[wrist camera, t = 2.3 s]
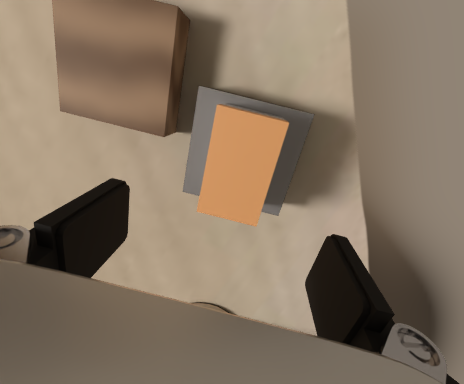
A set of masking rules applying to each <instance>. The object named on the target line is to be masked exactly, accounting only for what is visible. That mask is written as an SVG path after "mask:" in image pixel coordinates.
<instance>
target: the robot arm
mask: <svg viewBox="0 0 464 384" xmlns="http://www.w3.org/2000/svg"><path fill="white" fill-rule="evenodd" d="M129 192H130V188H129V186H128V185H127V184H126V182H125V181H122V180H118V179H114V178H111V179H109V180H108V181H106V182H104V183H102V184H100V185H99V186H97V187H95V188H93V189H92V190H90V191H88V192H86V193H85V194H83V195H81V196H79V197H78V198H76V199H74V200H72V201H71V202H69V203H67V204H65V205H63V206H62V207H60V208H58V209H56V210H55V211H53V212H51V213H49V214H48V215H46V216H44V217H42V218H41V219H39V220H37V221H35V222H34V228H33V229H31V230H27V229H26V228H24V227H21V226H15V225H4V226H0V384H459V383H458V382H457V381H455V380H454V379H453V378H452V377H450V376H449V375H448V374H447V364H446V360H445V358H444V356H443V354H442V353H441V351H440V350H439V349H438V348H437V346H436V345H435V344H434V343H433V342H432V341H431V340H430V339H429V338H427V337H426V336H425V335H424V334H422V333H421V332H419V331H418V330H416V329H414V328H413V327H410V326H408V325H405V324H400V323H398V324H395V323H394V321H393V320H392V317H393V316H394V313H393V311H392V309H391V308H390V306H389V305H388V303H387V302H386V300H385V298H384V297H383V295H382V293H381V292H380V290H379V289H378V287H377V285H376V284H375V282H374V281H373V279H372V277H371V276H370V274H369V273H368V271H367V269H366V268H365V266H364V264H363V263H362V261H361V260H360V258H359V256H358V255H357V253H356V252H355V250H354V248H353V247H352V245H351V244H350V242H349V240H348V239H347V238H346V237H343V236H339V235H335V234H332V235H331V236H327V237H326V239H325V241H324V243H323V245H322V247H321V249H320V251H319V253H318V256H317V258H316V260H315V262H314V264H313V266H312V268H311V270H310V272H309V274H308V276H307V278H306V282H305V287H306V291H307V295H308V300H309V304H310V308H311V312H312V316H313V320H314V324H315V328H316V332H317V336H314V335H310V334H307V333H303V332H299V331H295V330H291V329H287V328H284V327H280V326H276V325H272V324H268V323H265V322H261V321H257V320H253V319H249V318H246V317H242V316H238V315H234V314H230V313H227V312H226V311H224V310H223V309H221V308H219V307H217V306H214V305H210V304H205V303H194V304H191V303H187V302H183V301H179V300H175V299H172V298H168V297H164V296H160V295H156V294H152V293H148V292H144V291H140V290H136V289H132V288H128V287H124V286H120V285H116V284H112V283H108V282H104V281H100V280H96V279H92V278H91V277H92V276H93V275H94V274H95V273H96V272H97V270H98V269H99V268H100V267H101V266H102V265H103V264H104V263H105V262H106V261H107V260H108V258H109V257H110V256H111V255H112V254H113V253H114V252H115V251H116V250H117V249H118V248H119V246H120V245H121V244H122V243H123V242H124V241H125V239H126V237H127V234H128V214H129Z"/></svg>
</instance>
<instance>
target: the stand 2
mask: <svg viewBox="0 0 464 384" xmlns="http://www.w3.org/2000/svg"><path fill="white" fill-rule="evenodd" d="M224 103H227V104H231V105H235V106H239V107H243V108H247V109H251V110H255V111H259V112H263V113H267V114H271V115H275V116H279V117H282V118H284V119H285V120H286V121H288V122H289V125H288V129H287V132H286V135H285V138H284V141H283V144H282V147H281V151H280V154H279V157H278V160H277V163H276V166H275V169H274V173H273V176H272V179H271V182H270V185H269V188H268V191H267V195H266V198H265V201H264V204H263V207H262V210H261V212H265V213H269V214H273V215H277V216H278V215H279V213H280V210H281V207H282V204H283V201H284V199H285V196H286V193H287V190H288V187H289V184H290V182H291V179H292V176H293V173H294V170H295V168H296V165H297V162H298V159H299V156H300V154H301V151H302V148H303V145H304V142H305V140H306V137H307V134H308V131H309V128H310V126H311V123H312V120H313V117H314V114H311V113H307V112H304V111H300V110H296V109H292V108H287V107H283V106H279V105H275V104H271V103H267V102H263V101H259V100H255V99H251V98H247V97H243V96H239V95H235V94H231V93H227V92H223V91H219V90H215V89H211V88H207V87H203V86H199V89H198V95H197V102H196V108H195V115H194V121H193V128H192V134H191V141H190V147H189V154H188V160H187V167H186V173H185V180H184V186H183V192H186V193H190V194H194V195H198V196H200V192H201V186H202V181H203V176H204V170H205V165H206V160H207V154H208V149H209V144H210V138H211V133H212V128H213V123H214V117H215V112H216V107H217V105H218V104H224Z"/></svg>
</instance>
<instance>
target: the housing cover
mask: <svg viewBox="0 0 464 384" xmlns="http://www.w3.org/2000/svg"><path fill="white" fill-rule="evenodd" d="M288 125H289V122H288V121H286V120H282V119H278V118H274V117H270V116H266V115H262V114H258V113H254V112H250V111H246V110H242V109H238V108H234V107H230V106H226V105H222V104H218V105H217V107H216V112H215V117H214V123H213V128H212V133H211V138H210V144H209V149H208V154H207V160H206V165H205V170H204V176H203V181H202V186H201V192H200V197H199V202H198V208H197V212H201V213H205V214H209V215H213V216H217V217H221V218H225V219H229V220H233V221H236V222H240V223H244V224H248V225H252V226H257V223H258V220H259V217H260V213H261V210H262V207H263V204H264V201H265V198H266V195H267V191H268V188H269V185H270V182H271V179H272V176H273V173H274V169H275V166H276V163H277V160H278V157H279V154H280V151H281V147H282V144H283V141H284V138H285V135H286V132H287V129H288Z"/></svg>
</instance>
